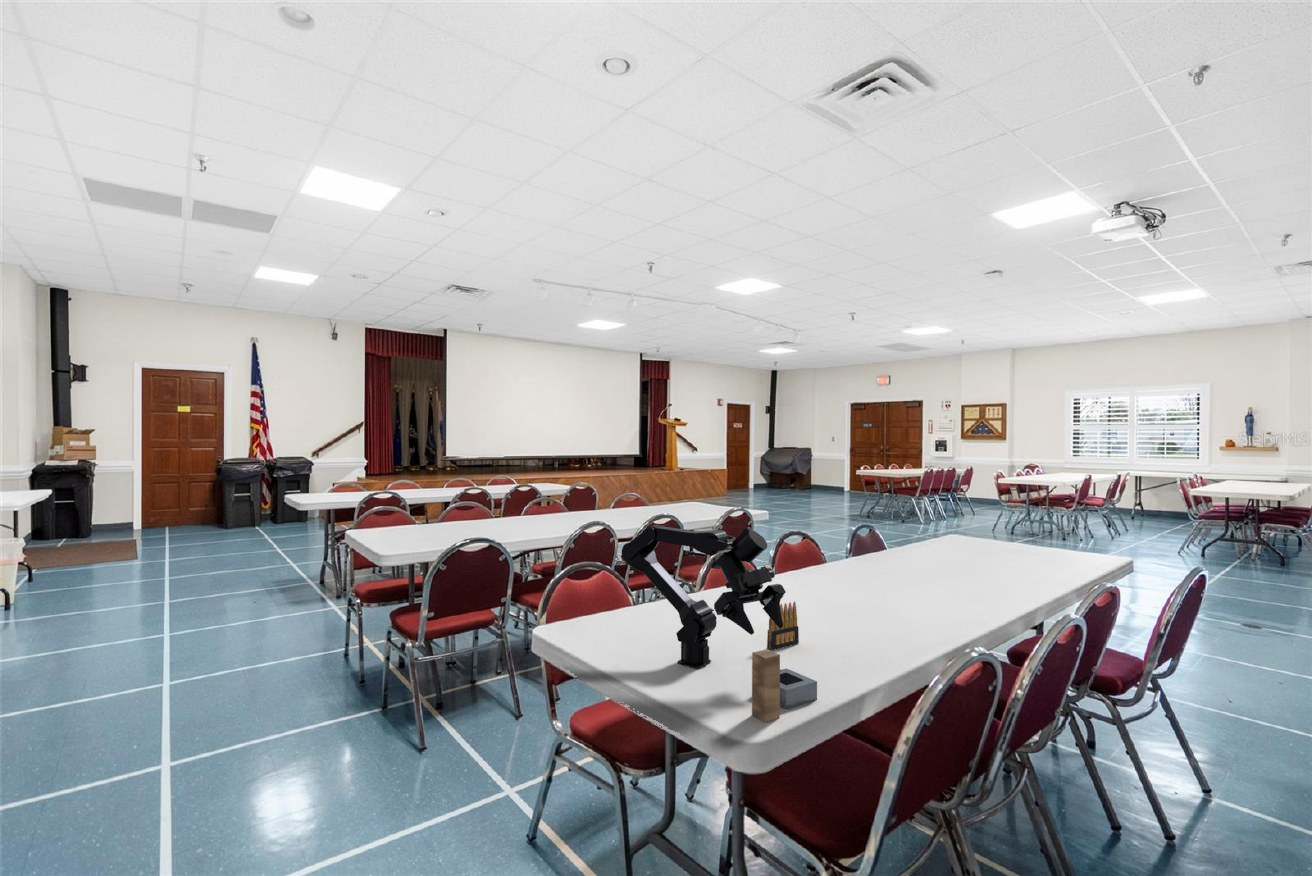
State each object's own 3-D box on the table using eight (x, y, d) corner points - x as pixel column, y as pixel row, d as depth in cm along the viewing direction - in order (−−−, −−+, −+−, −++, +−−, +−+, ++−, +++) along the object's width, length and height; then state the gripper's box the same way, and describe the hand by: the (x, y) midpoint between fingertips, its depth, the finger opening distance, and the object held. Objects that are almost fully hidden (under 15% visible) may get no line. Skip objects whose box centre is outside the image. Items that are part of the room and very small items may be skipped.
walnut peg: (751, 715, 128) (752, 652, 128) (766, 710, 130) (766, 649, 130) (765, 722, 125) (765, 658, 125) (779, 718, 127) (779, 654, 127)
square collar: (756, 694, 139) (756, 676, 139) (786, 685, 144) (786, 668, 144) (786, 709, 131) (786, 690, 131) (817, 699, 136) (817, 681, 136)
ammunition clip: (794, 642, 176) (794, 600, 177) (798, 643, 175) (799, 601, 175) (766, 648, 171) (767, 605, 171) (771, 650, 169) (771, 606, 169)
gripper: (722, 557, 141) (755, 617, 132) (780, 551, 152) (814, 605, 142) (700, 585, 148) (730, 644, 138) (758, 577, 158) (789, 631, 149)
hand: (767, 630), depth 142 cm, fingers open, 9 cm apart
